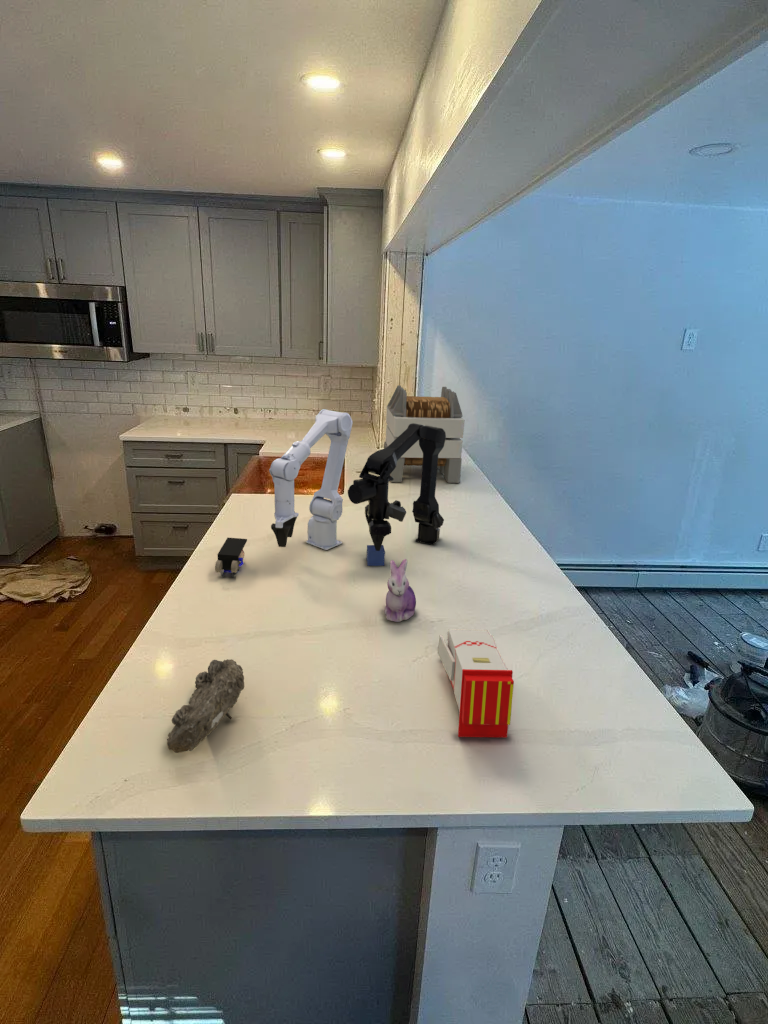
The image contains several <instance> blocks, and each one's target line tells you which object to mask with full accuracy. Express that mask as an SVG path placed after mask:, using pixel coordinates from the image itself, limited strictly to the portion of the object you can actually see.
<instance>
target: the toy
mask: <svg viewBox="0 0 768 1024" xmlns="http://www.w3.org/2000/svg"><path fill="white" fill-rule="evenodd" d="M446 640H447V643H446V641H445V639H444V636H443V635H442V634H439V637H438V646H437V656H438V657H439V659H440V661H441V663H442V666H443V668H444V670H445V672H446V674H447V677H448V679H449V681H450V684H451V687H452V690H453V693H454V697H455V701H456V705H457V708H458V711H459V714H458V715H459V716H458V730H457V731H458V732H457V737H458V738H508V731H509V726H510V725H511V717H512V707H513V697H514V696H513V695H514V684H515V680H514V679H513V673H514V671H513V670H512V669H508V667H507V665H506V662H505V661H504V659H503V658H502V655H501V653H500V651H499V649H498V647H497V643H496V639H495V637H494V635H493V634H491V632H490V631H489V629H467V628H466V629H465V628H463V629H461V628H460V629H459V628H448V630H447V639H446Z"/></svg>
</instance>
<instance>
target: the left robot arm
mask: <svg viewBox="0 0 768 1024" xmlns="http://www.w3.org/2000/svg"><path fill="white" fill-rule="evenodd" d="M353 422H354V421H353V419H352V416H351V415H350V413H348V412H341V411H335V410H331V409H326V408H323V409H321V410H319V412H318V414H316V415H315V418H314V423H313V425H312V426H311V427H310V428H309V430H308V431H307V433H306V434H305V435H304V436H303V438H302V439H301V440H295V441H293V443H292V444H291V446H290V447H289V448H288V449H287V450H286V452H284V453H283V454H282V456H281V457H278V458H276V459H274V460H273V461H272V462H271V464H270V468H269V469H268V471H269V474H270V476H271V478H272V482H273V487H274V488H273V489H274V513H273V514H274V520H275V521H274V522H275V523H274V522H273V523H272V524H271V525H270V528H271V531H272V532H273V534H274V536H275V539H276V542H277V547H279V548H286V547H287V544H288V538H292V537H293V534H294V529H295V524H296V522H297V519H298V517H299V512H295V479H296V478H297V477H298V475H299V471H300V469H301V466H302V465H303V463H304V462H305V461H306V460H307V459H308V458H309V457H310V455H311V449H312V448H313V447H314V446H315V445H316V444H317V442H319V441H320V439H322V438H323V437H324V436H325V435H326V436H327V437H328V438H329V440H330V445H329V449H328V454H327V459H326V463H325V469H324V473H323V477H322V483H321V487H320V488H319V489H318V490H316V491H315V492H314V493H313V496H312V499H311V501H310V503H309V507H308V508H309V509H308V510H309V512H310V514H311V515H312V516H310V518H309V519H308V522H307V540H305V543H306V544H309V545H311V546H314V547H317V548H319V549H322V550H325V551H328V550H331V549H332V548H335V547H337V546H339V545H342V544H343V541H341V540H338V537H337V536H338V533H337V532H338V521H339V519H340V518H341V517H342V515H343V511H344V510H343V502H344V499H343V497H342V496H341V494H340V493H339V486H340V481H341V476H342V472H343V467H344V463H345V458H346V453H347V448H348V444H349V440H350V437H351V433H352V427H353Z"/></svg>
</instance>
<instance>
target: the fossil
mask: <svg viewBox="0 0 768 1024" xmlns="http://www.w3.org/2000/svg"><path fill="white" fill-rule="evenodd" d="M243 670H244V669H243V667H242V665H240V664H237V662H236V661H235V660H234V659H232V658H231V659H227V658H226V659H224V660H223V661H222V660H217V659H212V660H211V661H210V663H209V665H208V666H207V671H201V672H199V673H198V674H197V675H196V676H195V680H194V684H195V685H194V687H195V689H194V690H193V693H192V694H191V697H190V698H189V700H188V704H184V705H182V706H181V707H180V709H177V710H176V711H175V713H174V715H173V716H172V718H171V723H172V724H173V727H172V730H171V731H170V732H168V734H167V738H166V741H167V742H166V745H167V749H168V750H169V751H173V752H174V753H176V754H178V753H182V752H188V751H189V752H192V751H193V750H195V748H196V747H197V746H199V744H200V743H201V742H203V741H204V740H205V739H206V738H207V737H208V736H209V735H210V734H211V733H212V732H214V730H215V729H217V727H218V726H219V724H220V722H221V721H222V720H223V719H224V718H225V716H226V717H227V719H229V720H233V717H232V715H230V714H229V710H230V709H231V708H234V706H235V704H236V703H237V702H238V699H239V697H240V695H241V693H242V691H243V690H245V689H244V688H245V675H244V671H243Z"/></svg>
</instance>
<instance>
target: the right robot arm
mask: <svg viewBox="0 0 768 1024" xmlns="http://www.w3.org/2000/svg"><path fill="white" fill-rule="evenodd" d="M445 439H446V433H445V432H444V430H443V429H442V428H437V427H432V426H428V425H425V426H424V425H421V424H416V423H412V424H410V425H409V426H408V428H407V429H406V430H405V431H404V432H403V433H402V434H401V435H400V436H399V437H398V438H396V439H395V440H394V441H393V442H392V443H391V444H390V445H389V446H388V447H386V448H385V449H384V448H382V449H379V450H376V451H374V452H373V453H372V454H370V455H369V456H368V457H367V459H366V462H365V464H364V466H363V468H362V470H361V471H360V474H359V476H358V477H359V479H353V481H352V484H350V486H349V487H348V489H347V497H348V499H349V501H350V502H351V503H352V504H354V505H359V504H362V503H365V502H368V504H366V506H364V517H365V520H366V522H367V526H368V533H369V535H370V537H371V541H372V543H373V545H374V546H375V549H376V551H380V549H381V545H383V542H384V539H385V537H386V536H389V535H391V534H392V526H391V523H390V522H389V521H388V520H390V518H392V519H394V520H397V521H398V522H401V523H402V522H403V521H404V520H405V518H406V514H407V510H406V508H405V507H404V506H402V502H401V501H400V500H397V499H395V500H394V501H393V502H389V482H391V481H392V480H394V478H393V477H391V476H390V474H391V473H392V472H393V470H394V469H395V468H396V466H397V461H398V459H399V458H400V457H401V456H402V455H403V454H404V453H405V452H406V451H408V450H409V449H410V448H411V447H412V446H413V445H414V444H415V443H416V442H417V441H418V440H419V446H420V448H421V450H422V452H423V461H422V466H421V477H420V489H419V496H418V498H417V499H416V500H413V503H412V511H411V513H412V516H413V518H414V522H415V523H418V527H417V538H416V539H415V542H417V543H421V544H425V545H430V546H435V544H436V543H437V542H438V541H439V540H440V532H441V528H442V526H443V525H444V522H445V519H444V517H443V516H442V515H441V513H440V506H439V502H438V501H437V498H436V488H437V477H438V476H437V475H438V468H437V465H438V455H439V453H440V451H441V450H442V449H443V447H444V443H445Z"/></svg>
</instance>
